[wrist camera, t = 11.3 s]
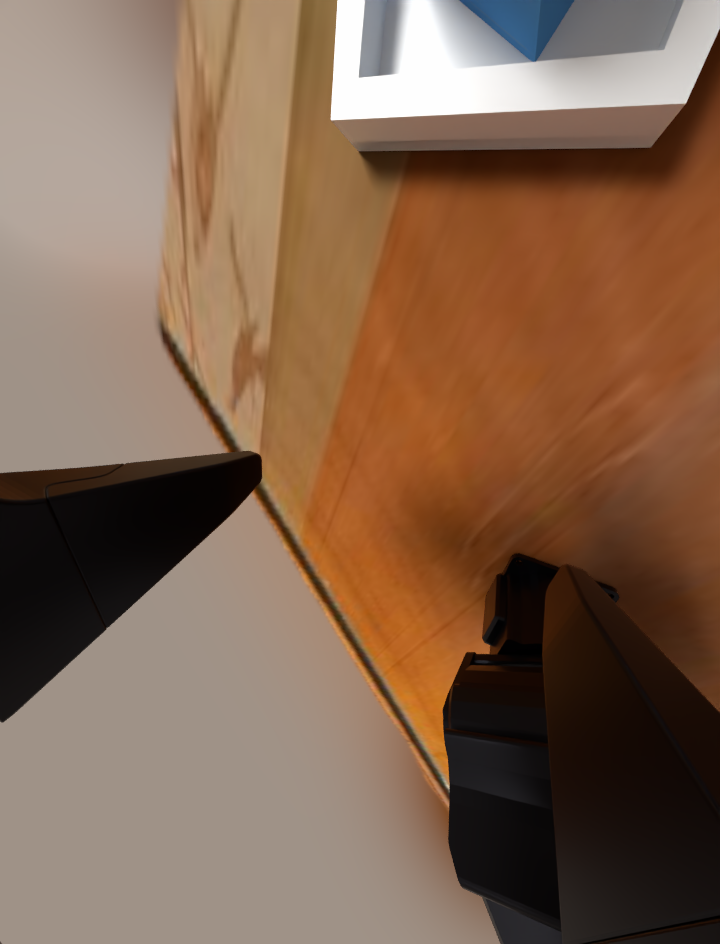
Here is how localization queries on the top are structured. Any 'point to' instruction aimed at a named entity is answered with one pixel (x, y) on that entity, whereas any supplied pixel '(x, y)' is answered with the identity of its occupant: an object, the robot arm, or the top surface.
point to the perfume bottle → (522, 21)
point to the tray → (515, 75)
